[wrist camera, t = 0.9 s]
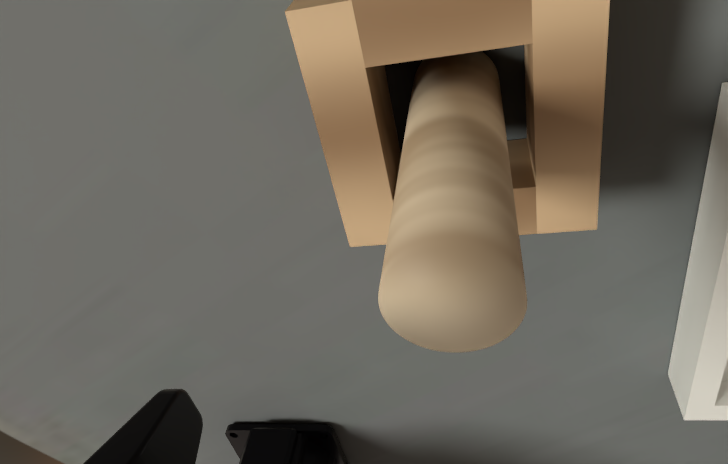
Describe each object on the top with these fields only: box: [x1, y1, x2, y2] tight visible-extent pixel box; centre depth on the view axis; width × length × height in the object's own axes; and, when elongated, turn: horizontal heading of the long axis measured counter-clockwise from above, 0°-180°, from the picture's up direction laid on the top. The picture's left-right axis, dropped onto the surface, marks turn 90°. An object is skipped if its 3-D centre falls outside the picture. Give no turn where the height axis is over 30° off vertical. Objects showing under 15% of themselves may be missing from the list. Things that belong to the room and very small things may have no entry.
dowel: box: [378, 51, 527, 352], centre depth 15 cm, size 3×3×10 cm
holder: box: [285, 0, 610, 247], centre depth 17 cm, size 8×8×3 cm
